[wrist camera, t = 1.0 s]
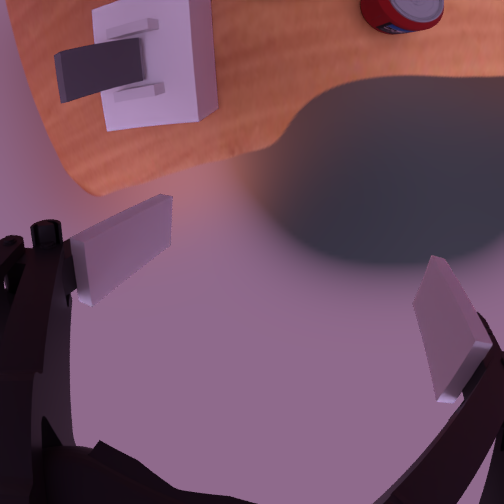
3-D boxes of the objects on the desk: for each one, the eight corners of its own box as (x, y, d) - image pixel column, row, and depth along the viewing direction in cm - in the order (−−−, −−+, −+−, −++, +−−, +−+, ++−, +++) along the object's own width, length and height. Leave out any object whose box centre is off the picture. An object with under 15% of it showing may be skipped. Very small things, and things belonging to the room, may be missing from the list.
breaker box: (138, 118, 40) (96, 140, 32) (126, 12, 31) (78, 9, 22) (218, 110, 38) (191, 130, 30) (210, -7, 29) (178, -22, 20)
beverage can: (386, 45, 29) (417, 43, 20) (347, 5, 27) (363, -15, 18) (422, 17, 26) (464, 8, 16) (384, -23, 24) (412, -49, 14)
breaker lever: (139, 80, 29) (60, 103, 23) (135, 39, 27) (54, 55, 20) (148, 79, 29) (67, 102, 22) (144, 36, 26) (60, 51, 19)
